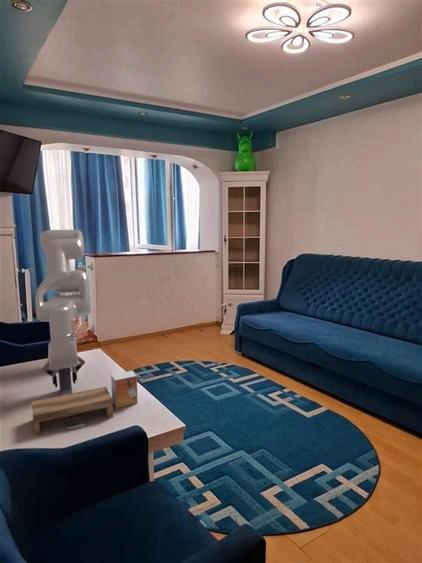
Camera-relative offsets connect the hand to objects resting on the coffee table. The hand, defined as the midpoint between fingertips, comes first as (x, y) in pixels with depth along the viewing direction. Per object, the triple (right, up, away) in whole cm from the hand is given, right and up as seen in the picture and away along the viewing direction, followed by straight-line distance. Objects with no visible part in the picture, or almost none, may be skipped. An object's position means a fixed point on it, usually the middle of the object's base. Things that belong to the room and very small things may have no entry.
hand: (65, 383), depth 149 cm
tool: (+4, -4, -7) cm, 10 cm away
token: (+12, -8, -23) cm, 27 cm away
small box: (+24, -5, -8) cm, 26 cm away
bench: (+10, -7, -19) cm, 22 cm away
